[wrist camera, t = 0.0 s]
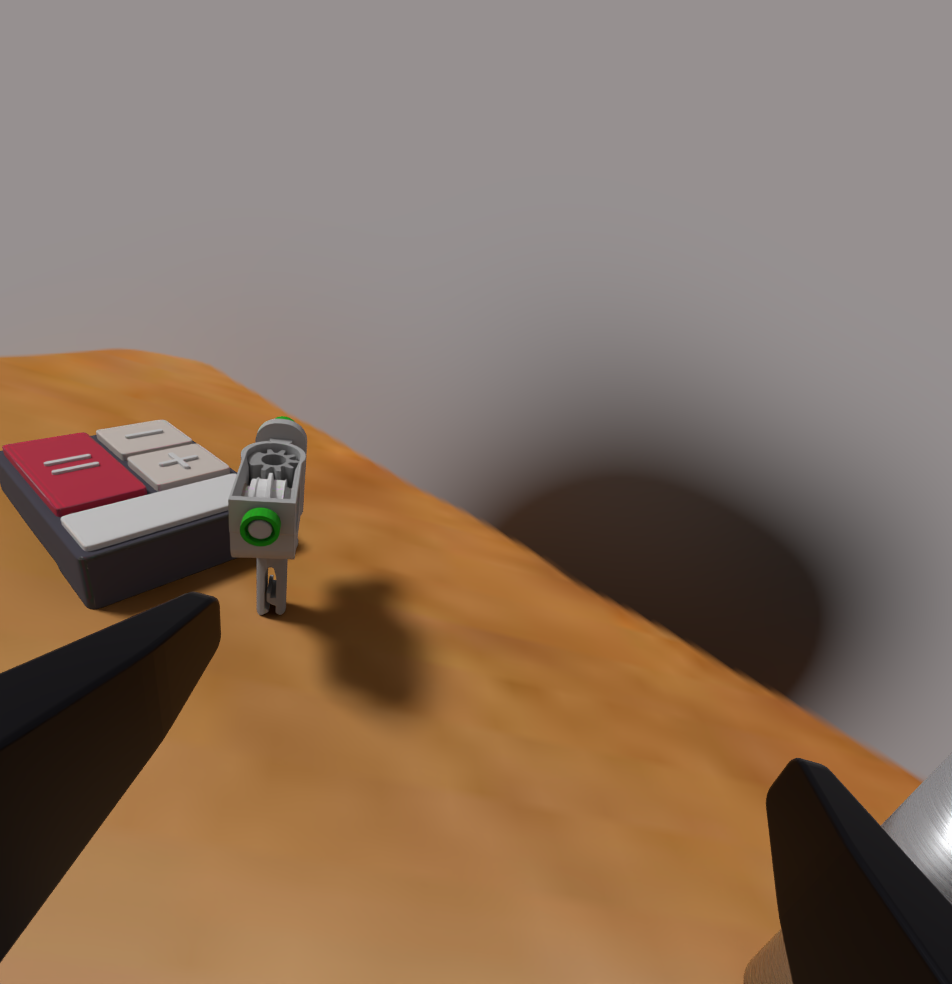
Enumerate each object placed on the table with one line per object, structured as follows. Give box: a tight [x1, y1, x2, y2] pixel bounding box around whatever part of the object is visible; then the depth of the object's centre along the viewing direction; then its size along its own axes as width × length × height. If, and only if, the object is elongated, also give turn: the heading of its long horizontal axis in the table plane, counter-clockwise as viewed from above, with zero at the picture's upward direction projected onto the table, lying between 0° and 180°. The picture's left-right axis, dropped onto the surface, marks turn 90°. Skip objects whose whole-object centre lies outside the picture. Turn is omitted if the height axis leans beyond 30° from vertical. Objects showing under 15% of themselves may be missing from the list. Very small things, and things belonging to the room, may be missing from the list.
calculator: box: [0, 420, 238, 609], centre depth 36 cm, size 11×4×15 cm
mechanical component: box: [228, 416, 307, 615], centre depth 29 cm, size 3×10×10 cm, turn 12°
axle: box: [744, 753, 952, 984], centre depth 17 cm, size 4×4×13 cm
